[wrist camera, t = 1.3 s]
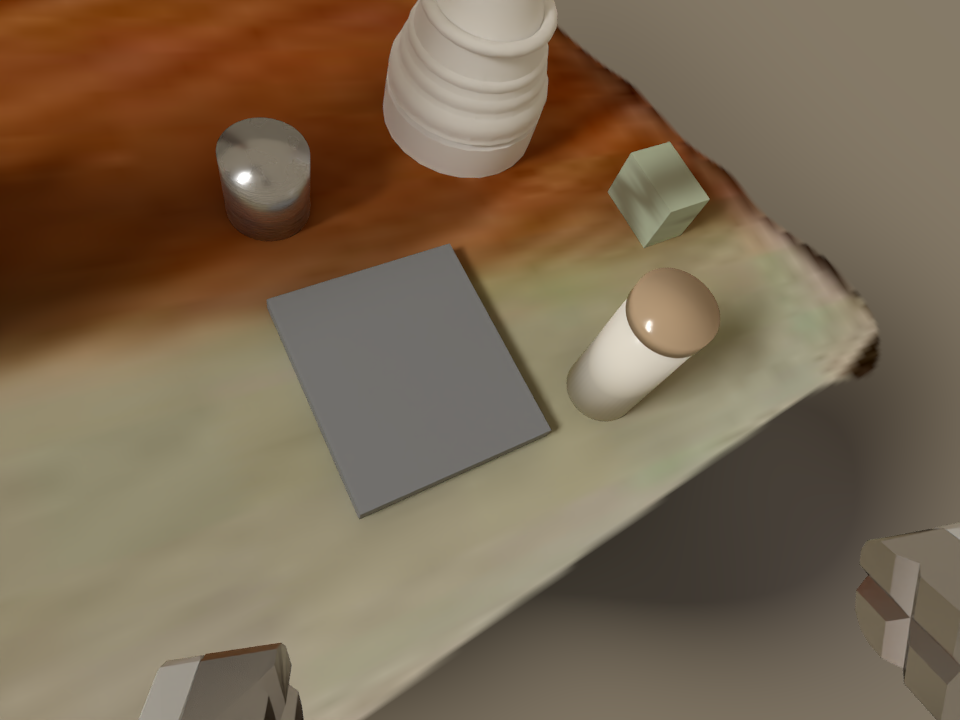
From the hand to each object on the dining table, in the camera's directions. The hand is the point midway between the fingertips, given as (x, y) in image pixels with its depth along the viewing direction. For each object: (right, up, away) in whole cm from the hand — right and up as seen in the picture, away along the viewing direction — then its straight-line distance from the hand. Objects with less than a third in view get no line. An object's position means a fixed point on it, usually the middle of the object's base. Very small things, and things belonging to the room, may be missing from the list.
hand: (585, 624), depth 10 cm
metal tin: (-17, +15, +42) cm, 48 cm away
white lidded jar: (+7, +2, +42) cm, 42 cm away
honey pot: (-3, +24, +50) cm, 56 cm away
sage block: (+13, +16, +50) cm, 54 cm away
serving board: (-6, +3, +39) cm, 40 cm away
